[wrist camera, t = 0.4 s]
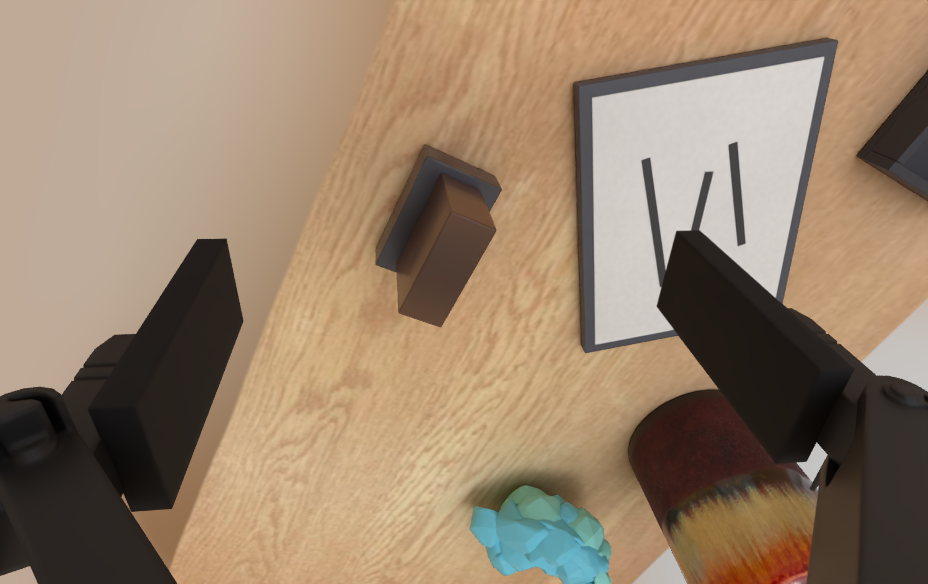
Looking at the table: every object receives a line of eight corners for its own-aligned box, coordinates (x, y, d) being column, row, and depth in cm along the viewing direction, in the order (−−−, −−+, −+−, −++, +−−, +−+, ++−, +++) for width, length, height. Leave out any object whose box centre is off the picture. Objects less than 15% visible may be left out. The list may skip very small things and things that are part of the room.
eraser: (424, 143, 30) (434, 192, 24) (496, 176, 32) (522, 229, 26) (375, 248, 33) (373, 314, 27) (443, 274, 35) (455, 341, 29)
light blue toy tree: (615, 484, 54) (611, 469, 41) (614, 586, 51) (609, 606, 38) (506, 473, 57) (469, 456, 44) (498, 568, 54) (455, 581, 41)
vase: (708, 488, 50) (877, 773, 33) (604, 472, 47) (732, 776, 30) (780, 401, 45) (1025, 684, 28) (669, 377, 42) (868, 677, 25)
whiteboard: (573, 82, 29) (579, 86, 28) (827, 37, 30) (841, 40, 29) (581, 345, 39) (585, 355, 38) (772, 309, 40) (781, 317, 39)
